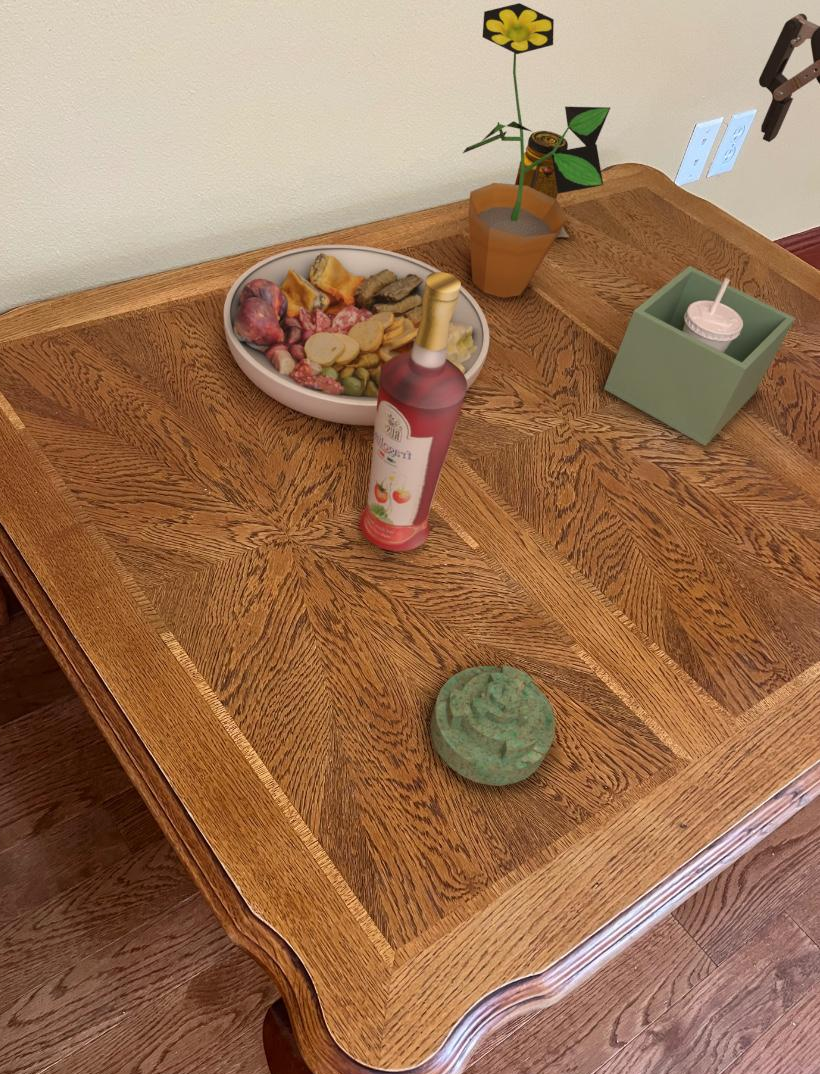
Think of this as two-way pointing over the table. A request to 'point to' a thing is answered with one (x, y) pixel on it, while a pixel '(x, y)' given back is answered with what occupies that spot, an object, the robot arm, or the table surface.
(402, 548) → the liquor
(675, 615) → the table surface
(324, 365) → the bowl
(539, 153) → the condiment
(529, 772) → the decorative artifact
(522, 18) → the potted plant
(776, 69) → the robot arm
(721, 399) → the bin
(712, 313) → the smoothie
